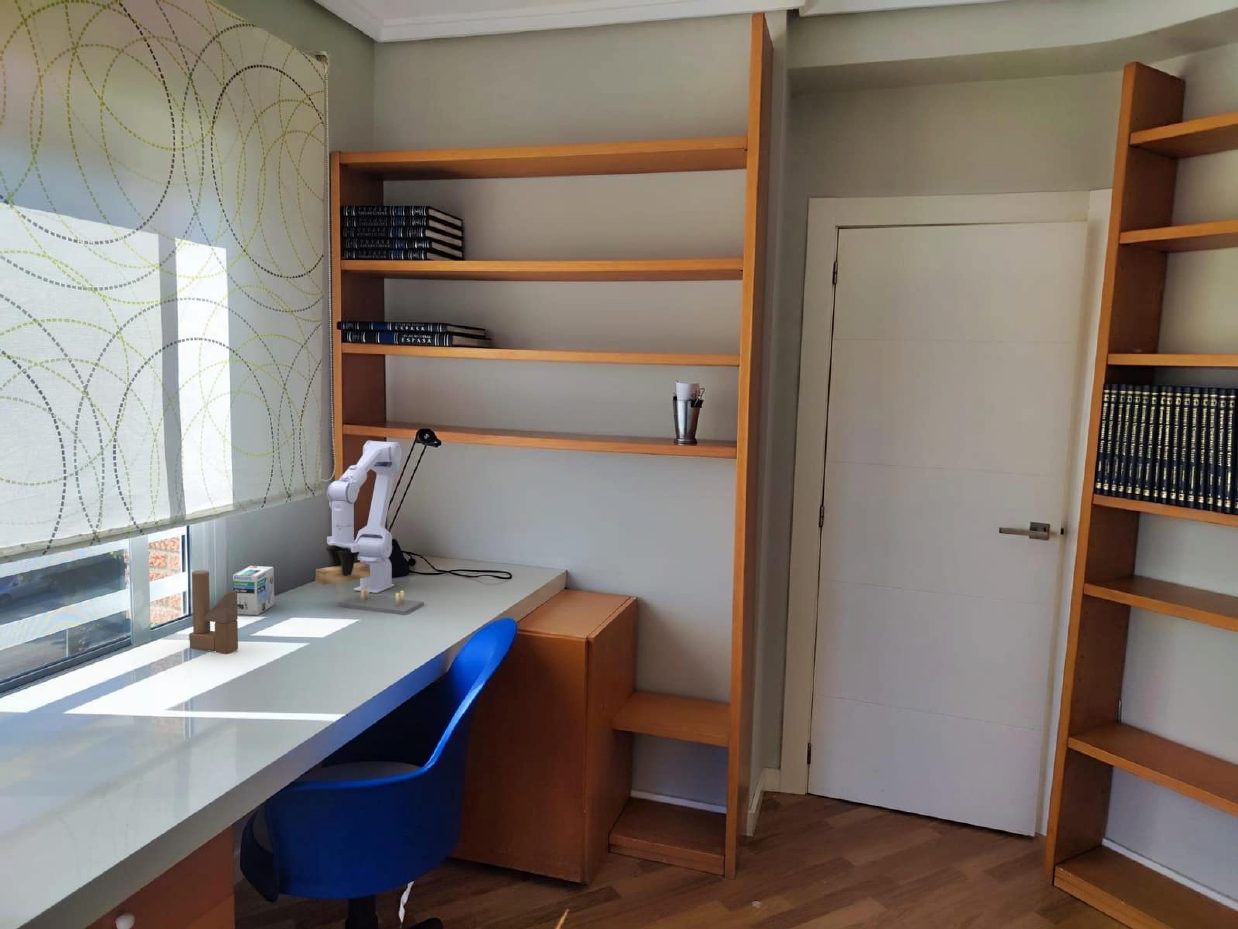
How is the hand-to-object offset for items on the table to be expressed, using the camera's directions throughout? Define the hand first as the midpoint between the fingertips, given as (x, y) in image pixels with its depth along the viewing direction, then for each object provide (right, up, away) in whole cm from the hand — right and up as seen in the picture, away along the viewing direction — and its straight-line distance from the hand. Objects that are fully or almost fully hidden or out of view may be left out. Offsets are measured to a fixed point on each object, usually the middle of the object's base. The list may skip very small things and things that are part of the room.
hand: (343, 573), depth 233 cm
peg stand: (+10, -9, +1) cm, 14 cm away
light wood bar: (0, -2, 0) cm, 2 cm away
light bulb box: (-22, -9, -6) cm, 24 cm away
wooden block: (-18, -13, -37) cm, 43 cm away
